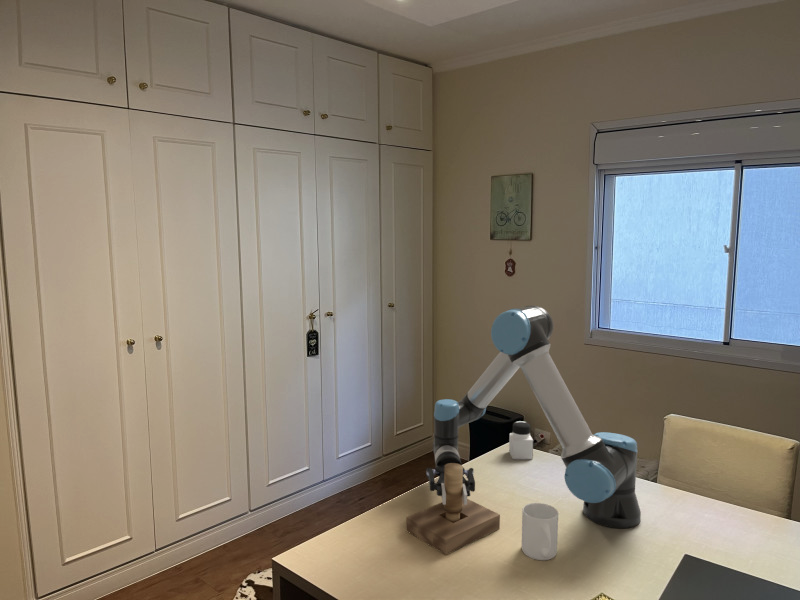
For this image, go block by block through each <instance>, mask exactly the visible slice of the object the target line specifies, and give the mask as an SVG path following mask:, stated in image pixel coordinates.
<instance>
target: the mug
mask: <svg viewBox="0 0 800 600" xmlns="http://www.w3.org/2000/svg"><path fill="white" fill-rule="evenodd" d="M521 513H522V516H521V519H522V520H521V550H522V552H523V554H524V555H525V556H527V557H528V558H530V559H533V560H536V561H548V560H551V559H553V558H555V557H556V555H557V553H558V537H559V536H558V535H559V534H558V531H559V528H558V527H559V512H558V510H557V508H555V507H554V506H552V505H550V504H547V503H541V502H531V503H527V504H525V505H524V506H523V507H522V511H521Z"/></svg>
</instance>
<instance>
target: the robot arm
mask: <svg viewBox="0 0 800 600" xmlns="http://www.w3.org/2000/svg"><path fill="white" fill-rule="evenodd" d="M553 332H554V321H553V318H552V316H551V314H550V313H549V312H548V311H547V310H546V309H545V308H543V307H541V306H537V305H526V306H524V307H522V306H521V307H516V308H511V309H508V310H506V311H503V312H501V313H500V314H498V315H497V316H496V317H495V319H494V321H492V325H491V330H490V338H491V341H492V343H493V345H494V347H495V348H496V350H498V351H499V353H498V354H497V355H496V357H494V359H493V360H492V362H490V364H489V365H488V366H487V368H486V369H485V370H484V371H483V373H482V374H481V375H480V376H479V378H478V379H477V380H476V381H475V383H474V384H473V385H472V386H471V387H470V389H469V390H468V392H467V393H465V395H464V396H463V397H462V398H461V400H459V401H456V400H454V399H449V398H447V399H446V398H445V399H439V400H437V401H436V402H435V403H434V412H433V419H434V420H433V433H434V434H433V443H432V446H433V447H432V451H433V455H434V463H435V467H434V468H431V467H426V478H427V479H428V483H429V484H428V485H429V491H430V492H434V491H436V495H437V496H438V497H441V500H442V502H443V505H446V492H445V486H444V471H445V465H446V464H449V463H457V464H460V465H462V466H463V464H462V460H461V456H460V452H459V428H461V427H464V426H465V425H467V424H469V423H472V422H474V421H477V420H479V419H481V418H482V417H483V416H484V415H485V414H486V410H487V407H488V405H490V403H491V402H492V401H493V400H494V398H495V397H496V396H497V395H498V394H499V393H500V392H501V390H503V388H504V387H505V385H507V384H508V382H509V381H510V380H511V378H513V376H514V375H515V374H516V372H517V371H518V370H519V369H521V371H522V373H523V375H524V377H525V379H526V381H527V383H528V385H529V386H530V388H531V390H532V392H533V394H534V396H535V397H536V400H537V401H538V404H539V406H540V407H541V409H542V411H543V414H544V415H545V417H546V419H547V421H548V423H549V424H550V426H551V428H552V430H553V433H554V434H555V436H556V438H557V440H558V442H559V443H560V446H561V447H562V448H561V449H562V451H561V455H560V458H561V460H562V463H563V464H564V466H565V469H564V477H563V478H564V481H565V485H566V487H567V489H568V490H569V492H571V494H572V495H573V496H574V497H576V498H577V499H579V500H581V501H583V510H582V512H583V514H584V516H585V517H586V518H587V519H589V520H590V521H592V522H594V523H596V524H598V525H601V526H603V527H608V528H613V529H614V528H615V529H628V528H633V527H636V526H638V525H639V524H640V523H641V520H642V519H641V518H642V517H641V516H642V513H641V512H642V511H641V508H640V505H639V500H638V498H637V495H636V480H637V479H636V478H637V461H638V453H639V451H638V443H637V441H636V440H635V439H634V438H632V437H630V436H628V435H625V434H621V433H614V432H606V431H605V432H603V431H602V432H596V433H592V431H591V429H590V427H589V425H588V423H587V422H586V419H585V418H584V415H583V414H582V412H581V410H580V408H579V406H578V405H577V403H576V401H575V399H574V397H573V395H572V394H571V392H570V390H569V388H568V386H567V384H566V383H565V381H564V379H563V377H562V375H561V373H560V371H559V369H558V368H557V366H556V364H555V362H554V360H553V358H552V355H550V349H551V343H550V340H549V339H550V338H551V337H552V335H553ZM474 471H475V470H474V468H473V467H470V468H468V469H465V467H463V486H462V497H463V502H464V505H467V499H468V497H470V496H471V492H473V493H474V492H476V481H475V477H474ZM435 475H436V476H437V477H438V479H437V482H436V481H435ZM465 476H466V478H465Z"/></svg>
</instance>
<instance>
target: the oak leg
mask: <svg viewBox="0 0 800 600" xmlns="http://www.w3.org/2000/svg"><path fill="white" fill-rule="evenodd" d="M463 468H464V466H463V464H462V465H460V464H457V463H449V464H446V465H445V471H444V486H445V492H446V505H444V511H445V512H446V519H447V520H449V521H450V522H452V523H455V522H457V521H459V520H460V513H461V512H462V486H463V477H464V475H463Z"/></svg>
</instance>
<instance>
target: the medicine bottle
mask: <svg viewBox="0 0 800 600" xmlns="http://www.w3.org/2000/svg"><path fill="white" fill-rule="evenodd" d="M508 441H509V442H508V444H509V445H508V449H509V450H508V452H509V455H510V457H511V459H512V460H533V458H534V457H533V456H534V439H533V437H532V436H531V425H530V423H528V422H527V421H521V420H519V421H515V422H513V423H512V432H510V433H509V439H508Z"/></svg>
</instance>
